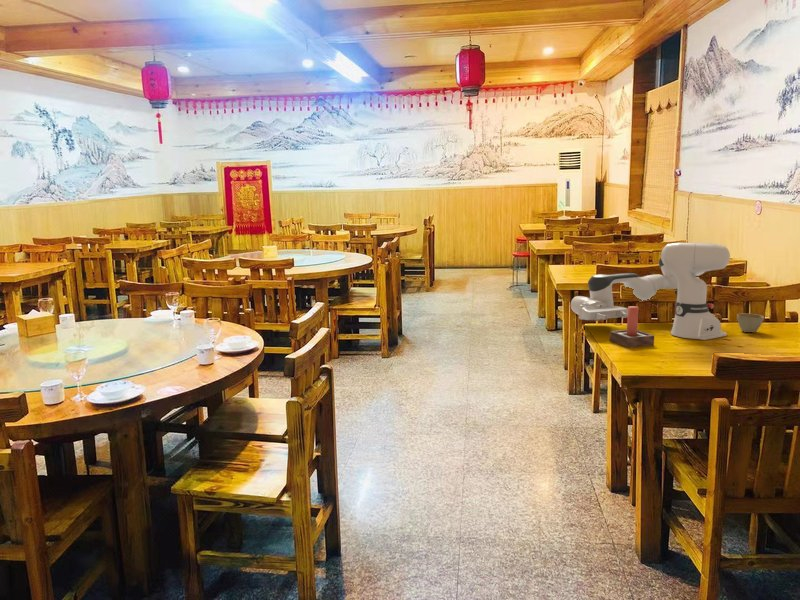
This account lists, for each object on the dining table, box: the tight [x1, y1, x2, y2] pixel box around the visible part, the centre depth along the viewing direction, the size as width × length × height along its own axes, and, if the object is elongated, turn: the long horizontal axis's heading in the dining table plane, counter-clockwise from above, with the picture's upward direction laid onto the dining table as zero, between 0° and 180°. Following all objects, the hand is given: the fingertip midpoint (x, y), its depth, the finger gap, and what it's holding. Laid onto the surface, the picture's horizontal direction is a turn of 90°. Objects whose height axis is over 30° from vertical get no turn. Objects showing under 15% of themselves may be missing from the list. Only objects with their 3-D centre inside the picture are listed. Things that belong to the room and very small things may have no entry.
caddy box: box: [609, 329, 655, 349], centre depth 254 cm, size 12×12×4 cm
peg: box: [626, 305, 640, 337], centre depth 253 cm, size 4×4×14 cm
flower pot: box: [736, 312, 765, 333], centre depth 270 cm, size 10×10×7 cm
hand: (615, 316), depth 263 cm, fingers open, 8 cm apart
